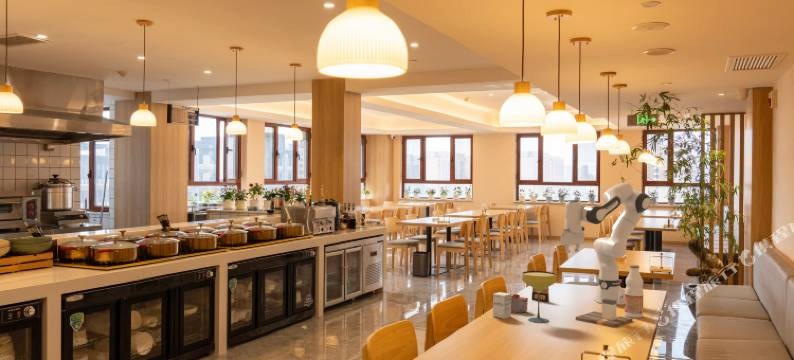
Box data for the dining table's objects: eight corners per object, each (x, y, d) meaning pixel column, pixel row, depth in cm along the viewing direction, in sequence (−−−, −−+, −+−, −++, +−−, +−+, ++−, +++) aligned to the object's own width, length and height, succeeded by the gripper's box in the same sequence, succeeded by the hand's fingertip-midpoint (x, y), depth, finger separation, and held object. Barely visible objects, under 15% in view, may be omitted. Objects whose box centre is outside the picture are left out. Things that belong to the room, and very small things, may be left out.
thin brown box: (549, 301, 377) (549, 282, 377) (547, 302, 376) (548, 282, 376) (532, 299, 384) (533, 280, 384) (531, 299, 382) (531, 280, 382)
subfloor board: (594, 313, 346) (594, 311, 346) (632, 321, 330) (632, 318, 330) (575, 319, 332) (575, 316, 332) (614, 327, 316) (614, 324, 316)
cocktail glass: (536, 326, 317) (537, 277, 317) (514, 318, 333) (514, 272, 333) (563, 322, 325) (564, 275, 325) (540, 315, 341) (541, 270, 341)
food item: (528, 311, 351) (529, 293, 351) (526, 314, 344) (526, 296, 344) (505, 308, 357) (505, 291, 357) (502, 311, 349) (502, 294, 349)
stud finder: (605, 316, 333) (606, 298, 332) (616, 319, 328) (616, 300, 328) (601, 318, 330) (602, 299, 330) (612, 320, 326) (612, 301, 325)
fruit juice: (632, 318, 336) (633, 267, 336) (621, 314, 345) (621, 264, 344) (646, 317, 339) (647, 266, 339) (634, 313, 348) (635, 263, 348)
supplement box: (492, 316, 337) (492, 293, 336) (499, 314, 342) (500, 291, 342) (503, 319, 332) (504, 295, 331) (511, 316, 337) (511, 293, 337)
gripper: (567, 229, 345) (567, 254, 346) (586, 227, 359) (586, 251, 360) (557, 228, 350) (557, 253, 350) (576, 226, 364) (576, 250, 364)
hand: (572, 252), depth 355 cm, fingers open, 8 cm apart
